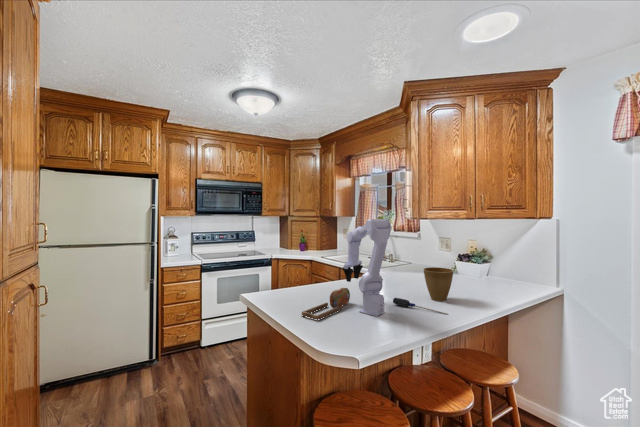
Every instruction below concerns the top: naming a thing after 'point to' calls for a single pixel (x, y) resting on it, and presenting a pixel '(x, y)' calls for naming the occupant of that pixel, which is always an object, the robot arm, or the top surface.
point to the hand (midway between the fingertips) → (352, 279)
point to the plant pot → (438, 282)
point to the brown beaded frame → (308, 313)
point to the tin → (339, 297)
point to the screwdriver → (410, 304)
